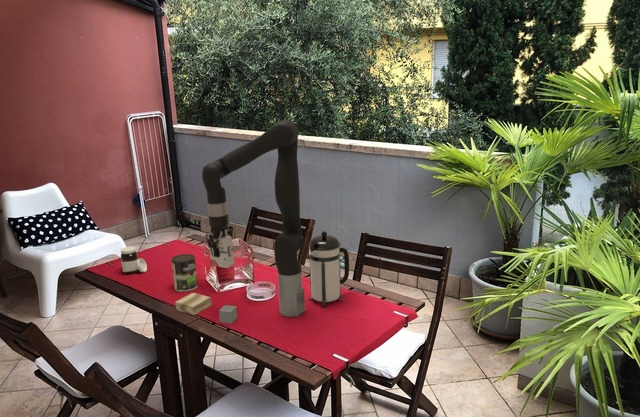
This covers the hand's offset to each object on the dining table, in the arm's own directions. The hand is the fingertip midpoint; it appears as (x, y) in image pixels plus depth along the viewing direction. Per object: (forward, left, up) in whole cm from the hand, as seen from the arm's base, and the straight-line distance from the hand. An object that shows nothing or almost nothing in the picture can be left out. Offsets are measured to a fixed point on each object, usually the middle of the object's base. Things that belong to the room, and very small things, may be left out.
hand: (221, 254), depth 203 cm
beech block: (+12, +6, -23) cm, 27 cm away
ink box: (0, 0, -5) cm, 5 cm away
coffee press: (-33, -26, -23) cm, 48 cm away
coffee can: (+30, -8, -23) cm, 39 cm away
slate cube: (-8, +8, -23) cm, 26 cm away
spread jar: (+67, -11, -23) cm, 72 cm away
